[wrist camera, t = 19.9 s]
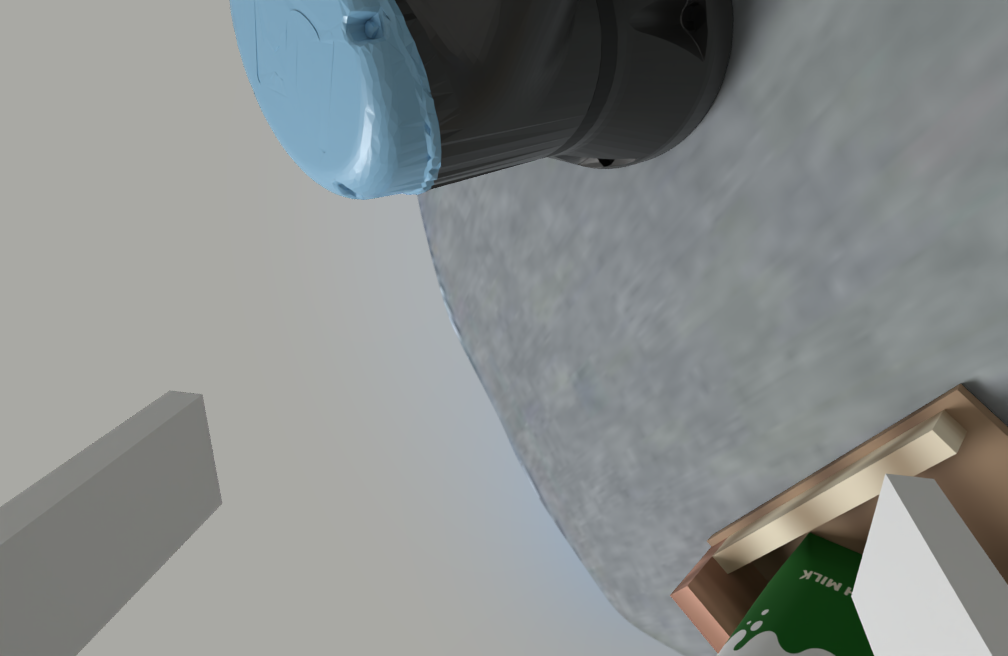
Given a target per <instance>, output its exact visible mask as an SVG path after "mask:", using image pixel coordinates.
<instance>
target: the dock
mask: <svg viewBox="0 0 1008 656" xmlns="http://www.w3.org/2000/svg"><path fill="white" fill-rule="evenodd" d="M885 473H886V474H895V475H903V476H912V477H921V478H929V479H934V480H935V481H936V482H937V484H938V485H939V487H940V488H941V490H942V491H943V493H944V494H945V495H946V497H947V498H948V500H949V501H950V503H951V504H952V505H953V507H954V508H955V510H956V511H957V513H958V514H959V516H960V517H961V518H962V520H963V521H964V523H965V524H966V526H967V527H968V528H969V530H970V531H971V533H972V534H973V536H974V537H975V539H976V540H977V541H978V543H979V544H980V546H981V547H982V549H983V550H984V551H985V553H986V554H987V556H988V557H989V559H990V560H991V562H992V563H993V564H994V566H995V567H996V569H997V570H998V572H999V573H1000V574H1001V576H1002V577H1003V579H1004V580H1005V582H1006V583H1007V585H1008V427H1007V426H1006V425H1005V424H1004V423H1003V422H1002V421H1001V420H1000V419H998V418H997V417H996V416H995V415H994V414H993V413H992V412H991V411H990V410H989V409H988V408H987V407H985V406H984V405H983V404H982V403H981V402H980V401H979V400H978V399H977V398H976V397H975V396H974V395H972V394H971V393H970V392H969V391H968V390H967V389H966V388H965V387H964V386H963V385H962V384H959V385H957V386H956V387H954V388H952V389H951V390H949V391H948V392H946V393H944V394H943V395H941V396H939V397H938V398H936V399H934V400H933V401H931V402H929V403H928V404H926V405H925V406H923V407H921V408H920V409H918V410H916V411H915V412H913V413H911V414H910V415H908V416H907V417H905V418H903V419H902V420H900V421H898V422H897V423H895V424H893V425H892V426H890V427H889V428H887V429H885V430H884V431H882V432H880V433H879V434H877V435H875V436H874V437H872V438H871V439H869V440H867V441H866V442H864V443H862V444H861V445H859V446H857V447H856V448H854V449H852V450H851V451H849V452H848V453H846V454H844V455H843V456H841V457H839V458H838V459H836V460H834V461H833V462H831V463H830V464H828V465H826V466H825V467H823V468H821V469H820V470H818V471H816V472H815V473H813V474H812V475H810V476H808V477H807V478H805V479H803V480H802V481H800V482H798V483H797V484H795V485H794V486H792V487H790V488H789V489H787V490H785V491H784V492H782V493H780V494H779V495H777V496H776V497H774V498H772V499H771V500H769V501H767V502H766V503H764V504H762V505H761V506H759V507H757V508H756V509H754V510H753V511H751V512H749V513H748V514H746V515H744V516H743V517H741V518H739V519H738V520H736V521H735V522H733V523H731V524H730V525H728V526H726V527H725V528H723V529H721V530H720V531H718V532H717V533H715V534H713V535H712V536H711V537H710V538H709V539H708V540H707V542H708V543H709V544H710V545H711V548H710V549H709V550H708V551H707V553H706V554H705V555H704V556H703V557H702V559H701V560H700V561H699V562H698V563H697V564H696V566H695V567H694V568H693V569H692V570H691V571H690V573H689V574H688V575H687V576H686V577H685V578H684V580H683V581H682V582H681V583H680V584H679V585H678V587H677V588H676V589H675V590H674V591H673V592H672V594H671V595H670V596H671V597H672V598H673V599H674V601H675V602H676V603H677V604H678V606H679V607H680V608H681V609H682V610H683V612H684V613H685V614H686V615H687V616H688V618H689V619H690V620H691V621H692V623H693V624H694V625H695V626H696V627H697V629H698V630H699V631H700V632H701V634H702V635H703V636H704V637H705V638H706V640H707V641H708V642H709V643H710V644H711V646H712V647H713V648H714V649H715V651H716V652H717V653H719V652H720V651H721V649H722V648H723V646H724V645H725V643H726V642H727V641H728V639H729V638H730V636H731V635H732V633H733V632H734V631H735V629H736V628H737V626H738V625H739V624H740V622H741V621H742V619H743V618H744V616H745V615H746V614H747V612H748V611H749V609H750V608H751V606H752V605H753V604H754V602H755V601H756V599H757V598H758V597H759V595H760V594H761V593H762V591H763V590H764V588H765V587H766V586H767V584H768V583H769V582H770V580H771V579H772V578H773V576H774V575H775V574H776V573H777V572H778V570H779V569H780V568H781V567H782V565H783V564H784V563H785V562H786V560H787V559H788V558H789V557H790V556H791V554H792V553H793V552H794V551H795V549H796V548H797V547H798V546H799V544H800V543H801V542H802V541H803V540H804V538H805V537H806V536H807V534H808V533H809V532H810V533H812V534H815V535H817V536H819V537H822V538H824V539H826V540H829V541H831V542H834V543H836V544H838V545H841V546H843V547H845V548H848V549H850V550H853V551H855V552H857V553H860V554H862V555H863V553H864V549H865V545H866V542H867V538H868V534H869V531H870V527H871V524H872V520H873V516H874V513H875V509H876V506H877V502H878V498H879V495H880V491H881V488H882V484H883V480H884V477H885Z"/></svg>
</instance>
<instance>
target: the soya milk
mask: <svg viewBox="0 0 1008 656" xmlns="http://www.w3.org/2000/svg"><path fill="white" fill-rule="evenodd" d="M862 556H863V555H862V554H860V553H857V552H855V551H853V550H850V549H848V548H845V547H843V546H841V545H838V544H836V543H834V542H831V541H829V540H826V539H824V538H822V537H819V536H817V535H815V534H812V533H810V532H809V533H808V534H807V536H806V537H805V538H804V540H803V541H802V542H801V543H800V544H799V546H798V547H797V548H796V549H795V551H794V552H793V553H792V554H791V556H790V557H789V558H788V559H787V560H786V562H785V563H784V564H783V565H782V567H781V568H780V569H779V570H778V572H777V573H776V574H775V575H774V576H773V578H772V579H771V580H770V582H769V583H768V584H767V586H766V587H765V588H764V590H763V591H762V593H761V594H760V595H759V597H758V598H757V599H756V601H755V602H754V604H753V605H752V606H751V608H750V609H749V611H748V612H747V614H746V615H745V616H744V618H743V619H742V621H741V622H740V624H739V625H738V626H737V628H736V629H735V631H734V632H733V633H732V635H731V636H730V638H729V639H728V641H727V642H726V643H725V645H724V646H723V648H722V649H721V651H720V652H719V653H718V655H717V656H874V654H873V651H872V649H871V646H870V644H869V641H868V638H867V636H866V633H865V631H864V628H863V625H862V623H861V620H860V618H859V615H858V613H857V610H856V607H855V605H854V602H853V600H852V597H851V596H852V592H853V589H854V585H855V581H856V578H857V574H858V571H859V567H860V563H861V560H862Z"/></svg>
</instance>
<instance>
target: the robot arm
mask: <svg viewBox="0 0 1008 656" xmlns="http://www.w3.org/2000/svg"><path fill="white" fill-rule="evenodd" d="M230 8H231V15H232V21H233V26H234V30H235V34H236V39H237V44H238V48H239V51H240V54H241V58H242V61H243V65H244V68H245V71H246V74H247V76H248V79H249V82H250V84H251V86H252V88H253V90H254V94H255V96H256V99H257V101H258V103H259V106H260V108H261V110H262V112H263V114H264V116H265V118H266V120H267V121H268V124H269V125H270V127H271V129H272V131H273V132H274V134H275V136H276V137H277V139H278V140H279V142H280V143H281V145H282V146H283V148H284V149H285V150H286V152H287V153H288V154H289V156H290V157H291V158H292V159H293V160H294V161H295V163H296V164H297V165H298V166H299V167H300V168H301V169H302V170H303V171H304V172H305V173H306V174H307V175H308V176H309V177H310V178H311V179H312V180H314V181H315V182H316V183H318V184H319V185H321V186H322V187H324V188H325V189H327V190H329V191H331V192H333V193H335V194H337V195H340V196H343V197H347V198H351V199H362V200H365V199H373V198H379V197H384V196H389V195H395V194H401V193H403V194H409V195H411V194H416V195H418V194H421V193H424V192H426V191H428V190H430V189H433V188H437V187H441V186H444V185H448V184H451V183H455V182H459V181H462V180H466V179H469V178H473V177H477V176H480V175H484V174H487V173H491V172H495V171H498V170H502V169H505V168H509V167H513V166H516V165H520V164H523V163H527V162H531V161H534V160H537V159H541V158H545V157H549V158H553V159H557V160H561V161H565V162H569V163H573V164H577V165H581V166H584V167H590V168H597V169H613V168H621V167H626V166H630V165H633V164H637V163H640V162H643V161H647V160H650V159H652V158H655V157H657V156H659V155H661V154H663V153H665V152H667V151H669V150H670V149H672V148H673V147H675V146H676V145H677V144H679V143H680V142H681V141H682V140H684V139H685V138H686V137H687V136H688V135H689V134H690V133H691V132H692V131H693V130H694V128H695V127H696V126H697V125H698V124H699V122H700V121H701V120H702V119H703V117H704V116H705V114H706V113H707V111H708V110H709V108H710V106H711V104H712V103H713V101H714V99H715V97H716V95H717V93H718V90H719V88H720V86H721V83H722V81H723V78H724V75H725V72H726V68H727V64H728V60H729V55H730V50H731V43H732V32H733V12H732V1H731V0H230ZM221 504H222V500H221V494H220V489H219V483H218V479H217V473H216V467H215V461H214V456H213V450H212V445H211V439H210V434H209V428H208V423H207V417H206V412H205V406H204V401H203V395H202V394H194V393H186V392H177V391H168V392H167V393H166V394H164V395H163V396H161V397H160V398H158V399H157V400H155V401H154V402H152V403H151V404H149V405H148V406H147V407H145V408H144V409H143V410H141V411H139V412H138V413H136V414H135V415H134V416H132V417H131V418H129V419H128V420H126V421H125V422H123V423H122V424H120V425H119V426H117V427H116V428H115V429H113V430H112V431H110V432H109V433H107V434H106V435H104V436H103V437H101V438H100V439H99V440H97V441H96V442H95V443H93V444H92V445H90V446H88V447H87V448H85V449H84V450H83V451H81V452H80V453H78V454H77V455H75V456H74V457H72V458H71V459H69V460H68V461H67V462H65V463H64V464H62V465H61V466H59V467H58V468H56V469H55V470H54V471H52V472H51V473H49V474H48V475H46V476H45V477H43V478H42V479H41V480H39V481H38V482H36V483H35V484H33V485H32V486H30V487H29V488H27V489H26V490H24V491H23V492H21V493H20V494H19V495H17V496H16V497H14V498H13V499H11V500H10V501H9V502H7V503H5V504H4V505H3V506H1V507H0V656H76V655H77V654H78V653H79V652H80V651H81V650H82V649H83V648H84V647H85V646H86V644H88V642H90V640H91V639H92V638H93V637H94V636H95V635H96V634H97V633H98V632H99V631H100V630H101V629H102V628H103V627H104V626H105V625H106V624H107V623H108V622H109V621H110V620H111V619H112V617H114V616H115V615H116V613H117V612H118V611H119V610H120V609H121V608H122V607H123V606H124V605H125V604H126V603H127V602H128V601H129V600H130V599H131V598H132V597H133V596H134V595H135V593H137V592H138V591H139V590H140V588H141V587H142V586H143V585H144V584H145V583H146V582H147V581H148V580H149V579H150V578H151V577H152V576H153V575H154V574H155V573H156V572H157V571H158V570H159V569H160V568H161V567H162V566H163V565H164V564H165V563H166V561H167V560H168V559H169V558H170V557H171V556H172V555H173V554H174V553H175V552H176V551H177V550H178V549H179V548H180V547H181V546H182V545H183V544H184V543H185V541H187V540H188V539H189V538H190V537H191V535H192V534H193V533H194V532H195V531H196V530H197V529H198V528H199V527H200V526H201V525H202V524H203V523H204V522H205V521H206V520H207V519H208V518H209V517H210V516H211V514H213V513H214V511H216V509H217V508H218V507H219V506H220V505H221ZM851 597H852V600H853V602H854V605H855V607H856V610H857V613H858V615H859V618H860V620H861V623H862V625H863V628H864V631H865V633H866V636H867V638H868V641H869V644H870V646H871V649H872V651H873V654H874V656H1008V585H1007V583H1006V582H1005V580H1004V579H1003V577H1002V576H1001V574H1000V573H999V572H998V570H997V569H996V567H995V566H994V564H993V563H992V562H991V560H990V559H989V557H988V556H987V554H986V553H985V551H984V550H983V549H982V547H981V546H980V544H979V543H978V541H977V540H976V539H975V537H974V536H973V534H972V533H971V531H970V530H969V528H968V527H967V526H966V524H965V523H964V521H963V520H962V518H961V517H960V516H959V514H958V513H957V511H956V510H955V508H954V507H953V505H952V504H951V503H950V501H949V500H948V498H947V497H946V495H945V494H944V493H943V491H942V490H941V488H940V487H939V485H938V484H937V482H936V481H935V480H934V479H929V478H921V477H912V476H903V475H895V474H886V473H885V477H884V480H883V484H882V488H881V491H880V495H879V498H878V502H877V506H876V509H875V513H874V516H873V520H872V524H871V527H870V531H869V534H868V538H867V542H866V545H865V549H864V553H863V556H862V560H861V563H860V567H859V571H858V574H857V578H856V581H855V585H854V589H853V592H852V596H851Z"/></svg>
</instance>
